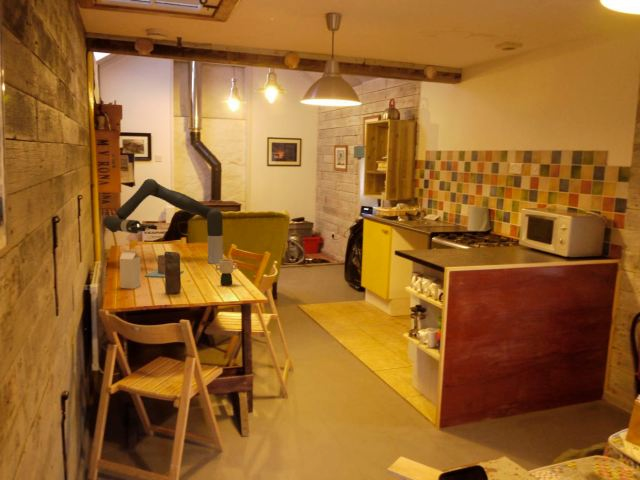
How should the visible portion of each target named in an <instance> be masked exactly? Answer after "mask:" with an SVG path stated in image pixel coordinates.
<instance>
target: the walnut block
mask: <svg viewBox="0 0 640 480" xmlns="http://www.w3.org/2000/svg"><path fill="white" fill-rule="evenodd" d="M157 270H158V273H159V274H165V254H159V255H157Z"/></svg>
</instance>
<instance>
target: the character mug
mask: <svg viewBox="0 0 640 480" xmlns="http://www.w3.org/2000/svg"><path fill="white" fill-rule="evenodd" d="M237 269H238V264H237V263H234V260H233V259H232V258H231V259H230V258H223V259H221V260H219V264H215V271H219V273H221V276H220V285H223V286H230V285H232V284H233V276H232V273H234V271H235V270H237Z"/></svg>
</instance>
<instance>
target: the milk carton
mask: <svg viewBox="0 0 640 480" xmlns="http://www.w3.org/2000/svg"><path fill="white" fill-rule="evenodd" d="M119 274H120V277H119V278H120V288H121V289H133V290H134V289H136V288H139V287H141V286H142V285H141V284H142V282H141V280H142V279H141V278H142V277H141V257H140V255H139V253H138V252H137V250H135V249H123V250H122V253H121V254H120V257H119Z"/></svg>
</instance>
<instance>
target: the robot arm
mask: <svg viewBox="0 0 640 480" xmlns="http://www.w3.org/2000/svg"><path fill="white" fill-rule="evenodd" d="M149 196H152V197H154V198H158V199H161V200H162V201H164V202H166V203H168V204H170V205H172V206H173V207H175V208H176V209H180V210H182V211H184V212H186V213H190V214H194V215H197V216H199V217H202V218H203V219H205V220H206V227H207V228H206V230H207V264H212V265H213V264H214V265H216V264H219V260H221V259H224V244H223V243H224V241H223V240H224V238H223V235H224V233H223V231H224V230H223V227H224V226H223V213H222V211H221V210H220V209H217V208H214V207H211V206H208V205H206V204H203V203H202V202H200V201H198V200H196V199H194V198H193V197H190V196H189V195H186V194H184V193H181V192H180V191H176V190H173V189H169V188H167V187H166V186H163V185H162V184H159V183H158V182H157V180H155V179H153V178H147V179H145V180H144V181H143V183H142V184H141V185H140V187H139V188H138V189H137V190H136V192H135V193H134V194H133V195H132V196H131V197H130V198H129V199H128V200H126V202H124V203H123V204H122V205H121V206H120V207H119V208H118V209H117V210H116V212H115V214H116V215H117V216H113V215H107V216H106V217H104V218H103V220H102V225H103V226H104V227H105V228H106V229H108V231H110V232H111V233H117V232H118V231H119V232H124V233H130V234H138V233H140V232H145V231H149V230H154V231H155V230H158V225H155V224H151V223H141V221H139V220H138V219H137V220H135V219H128V218H129V217H130V216H131V215H132V214H134V212H135V210H136V209H137V208H138V207H139V206H140V205H141V203H143V202H144V200H146V198H148V197H149Z"/></svg>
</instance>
